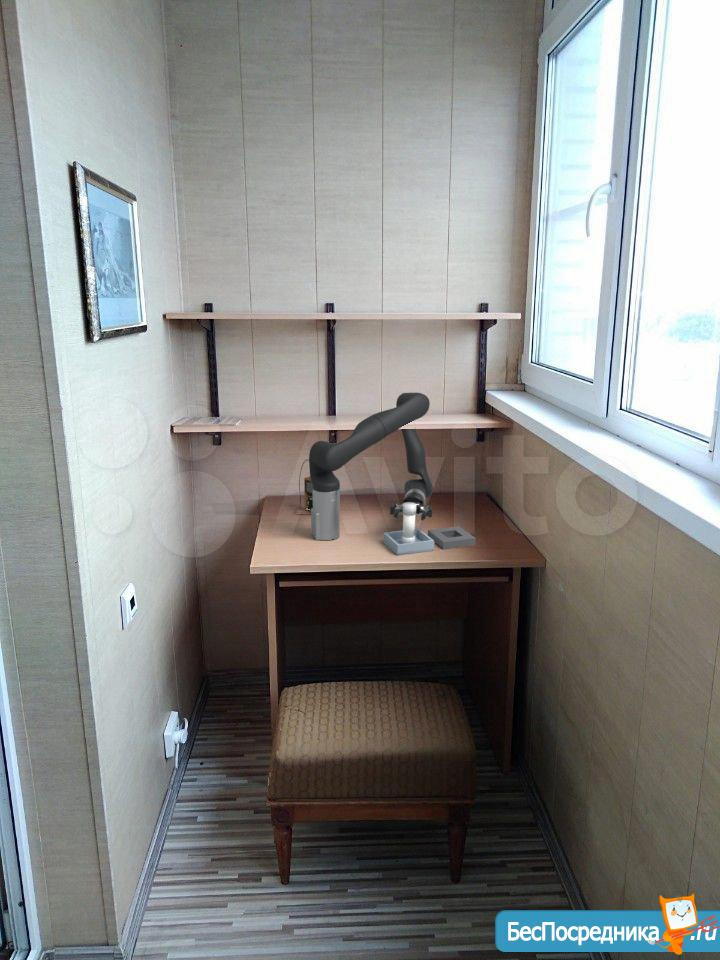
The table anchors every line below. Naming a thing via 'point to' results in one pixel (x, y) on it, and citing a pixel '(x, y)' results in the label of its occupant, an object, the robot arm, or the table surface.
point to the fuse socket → (457, 537)
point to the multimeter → (307, 491)
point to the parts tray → (420, 544)
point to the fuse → (408, 522)
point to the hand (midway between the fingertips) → (409, 516)
